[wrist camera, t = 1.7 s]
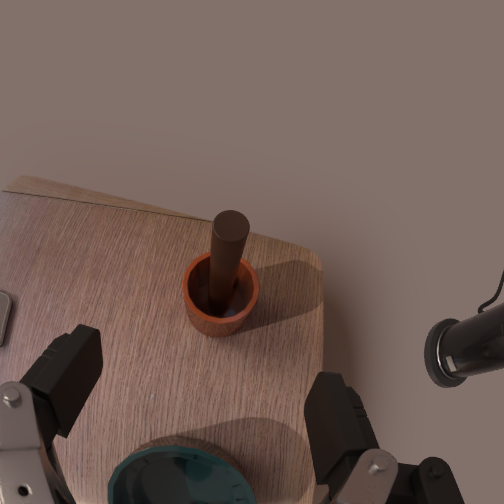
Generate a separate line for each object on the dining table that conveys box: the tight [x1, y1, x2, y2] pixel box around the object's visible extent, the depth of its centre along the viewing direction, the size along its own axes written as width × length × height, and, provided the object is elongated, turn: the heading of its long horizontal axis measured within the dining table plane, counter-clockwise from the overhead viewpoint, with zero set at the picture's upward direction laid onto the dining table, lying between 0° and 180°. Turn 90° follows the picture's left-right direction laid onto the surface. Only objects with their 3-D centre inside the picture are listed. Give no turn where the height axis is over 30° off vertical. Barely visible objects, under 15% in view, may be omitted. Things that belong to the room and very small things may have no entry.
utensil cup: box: [182, 252, 260, 338], centre depth 30 cm, size 7×7×8 cm
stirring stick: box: [208, 210, 250, 316], centre depth 25 cm, size 2×2×18 cm
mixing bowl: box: [108, 436, 257, 504], centre depth 21 cm, size 14×14×6 cm
